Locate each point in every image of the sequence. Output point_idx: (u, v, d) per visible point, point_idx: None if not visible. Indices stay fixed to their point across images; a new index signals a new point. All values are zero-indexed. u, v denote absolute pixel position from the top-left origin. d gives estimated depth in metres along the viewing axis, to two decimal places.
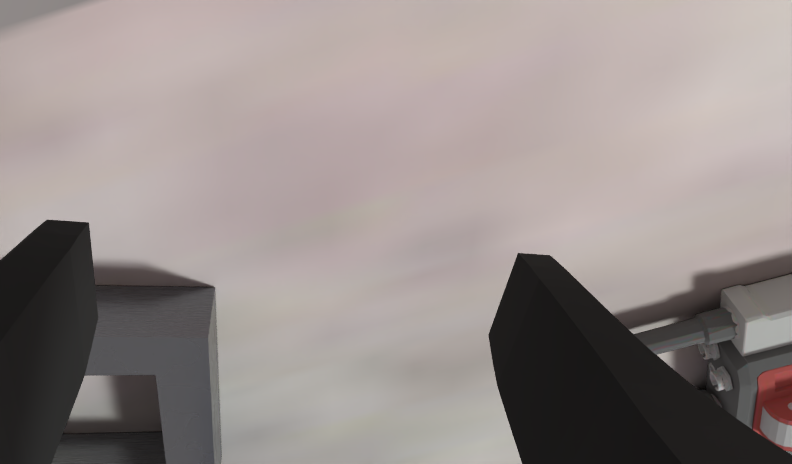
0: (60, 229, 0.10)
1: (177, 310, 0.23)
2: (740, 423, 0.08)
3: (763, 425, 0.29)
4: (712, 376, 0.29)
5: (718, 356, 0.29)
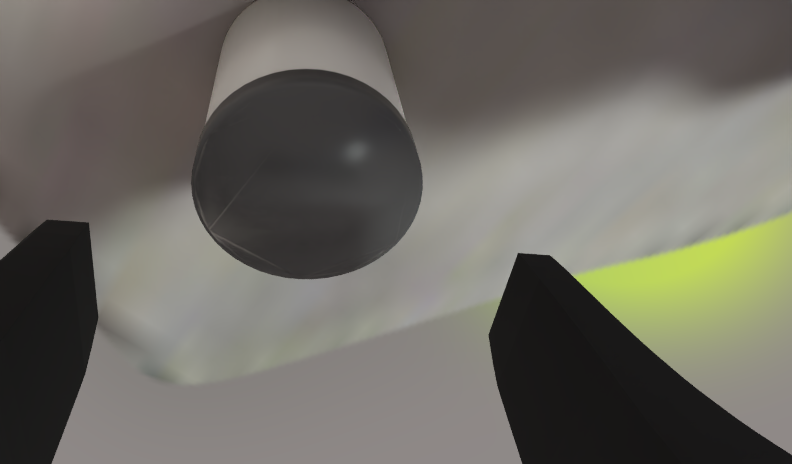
0: (61, 229, 0.10)
1: None
2: (739, 423, 0.08)
3: None
4: None
5: None
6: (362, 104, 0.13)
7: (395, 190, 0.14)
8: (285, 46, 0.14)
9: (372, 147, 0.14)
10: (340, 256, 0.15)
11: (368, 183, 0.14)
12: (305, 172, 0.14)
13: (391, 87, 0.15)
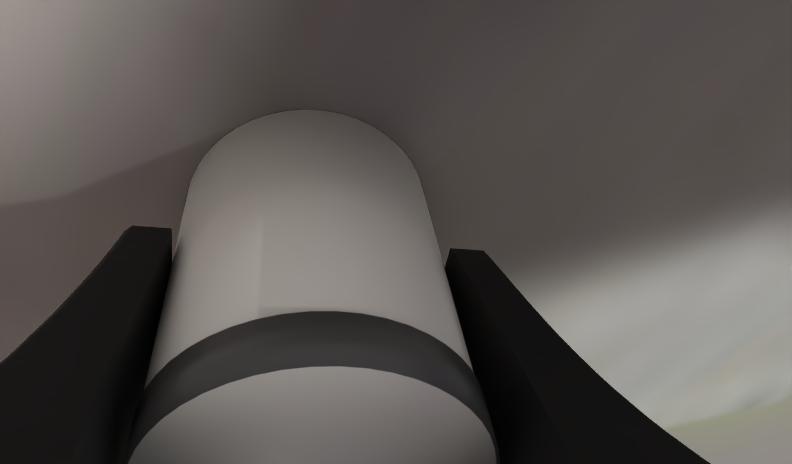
0: (148, 235, 0.10)
1: None
2: (651, 421, 0.08)
3: None
4: None
5: None
6: (408, 382, 0.07)
7: None
8: (277, 245, 0.09)
9: (422, 433, 0.08)
10: None
11: None
12: None
13: (443, 292, 0.10)
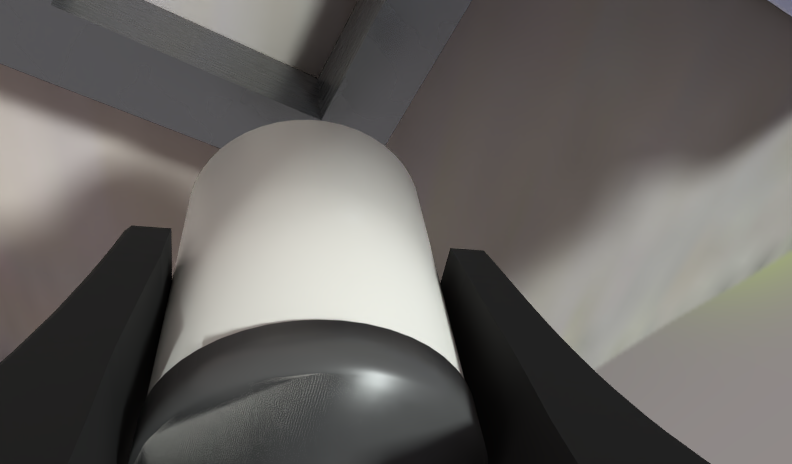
0: (147, 236, 0.10)
1: None
2: (651, 421, 0.08)
3: None
4: None
5: None
6: (388, 384, 0.08)
7: None
8: (264, 256, 0.09)
9: (408, 431, 0.08)
10: None
11: None
12: None
13: (430, 293, 0.10)
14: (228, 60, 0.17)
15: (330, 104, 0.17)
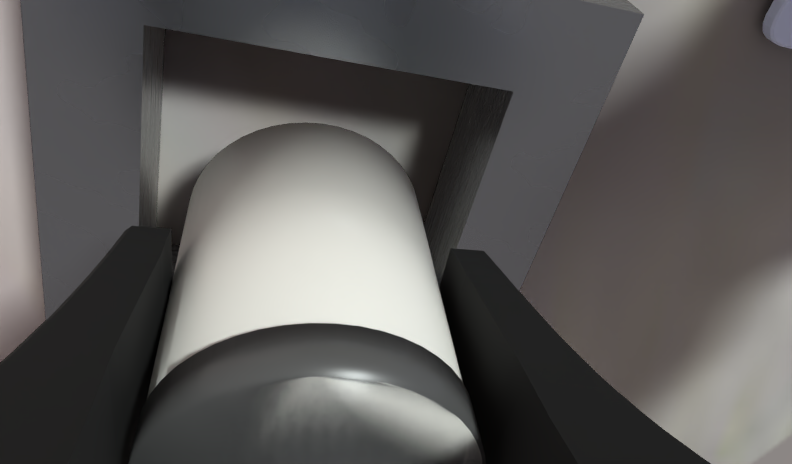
0: (148, 235, 0.10)
1: None
2: (651, 421, 0.08)
3: None
4: None
5: None
6: (381, 386, 0.08)
7: None
8: (259, 261, 0.09)
9: (404, 432, 0.08)
10: None
11: None
12: None
13: (425, 294, 0.10)
14: None
15: None
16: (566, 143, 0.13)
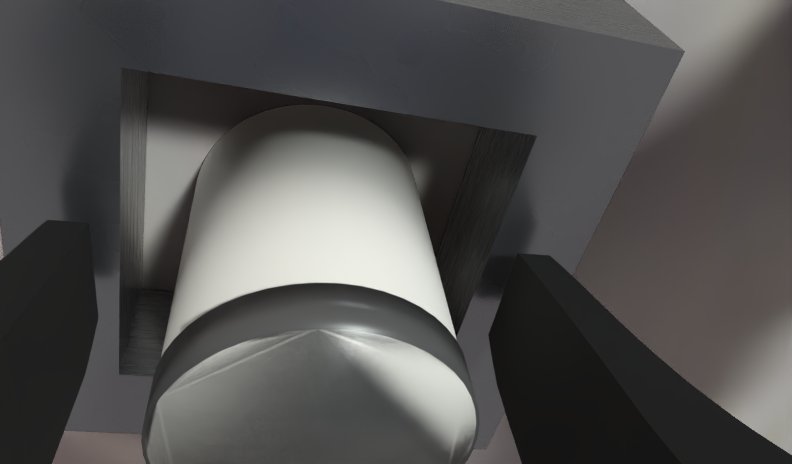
0: (61, 230, 0.10)
1: None
2: (739, 423, 0.08)
3: None
4: None
5: None
6: (381, 339, 0.08)
7: (440, 428, 0.10)
8: (265, 229, 0.10)
9: (401, 385, 0.09)
10: None
11: (400, 425, 0.10)
12: (307, 424, 0.09)
13: (422, 261, 0.11)
14: None
15: None
16: (594, 190, 0.12)
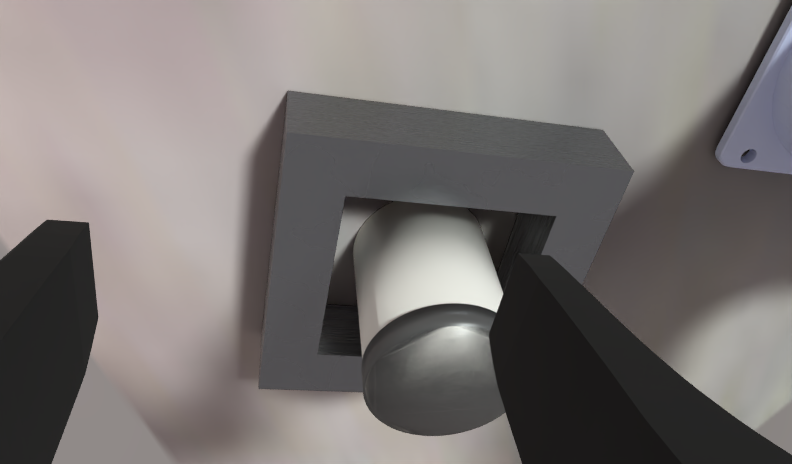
0: (61, 229, 0.10)
1: (283, 145, 0.19)
2: (739, 423, 0.08)
3: None
4: None
5: None
6: (481, 330, 0.18)
7: None
8: (415, 275, 0.19)
9: (490, 352, 0.18)
10: (471, 418, 0.20)
11: (489, 373, 0.19)
12: (443, 373, 0.19)
13: (495, 288, 0.20)
14: None
15: None
16: (589, 242, 0.21)
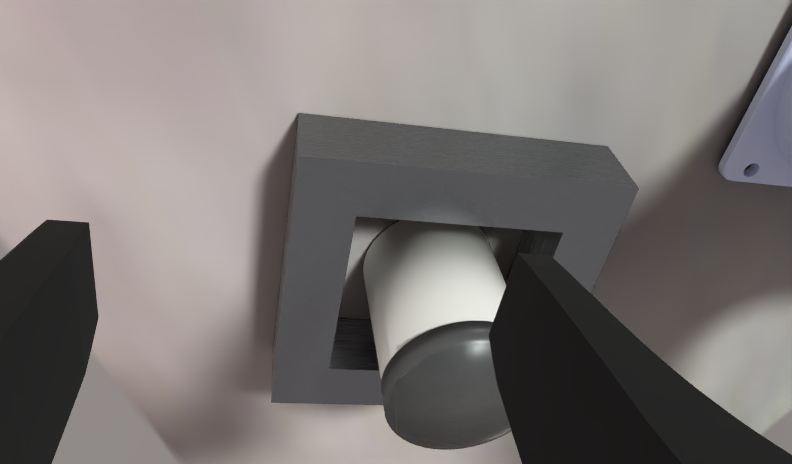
0: (61, 229, 0.10)
1: (294, 167, 0.20)
2: (740, 422, 0.08)
3: None
4: None
5: None
6: None
7: None
8: (428, 295, 0.20)
9: None
10: (490, 430, 0.20)
11: None
12: (462, 389, 0.19)
13: None
14: None
15: None
16: (595, 257, 0.22)
